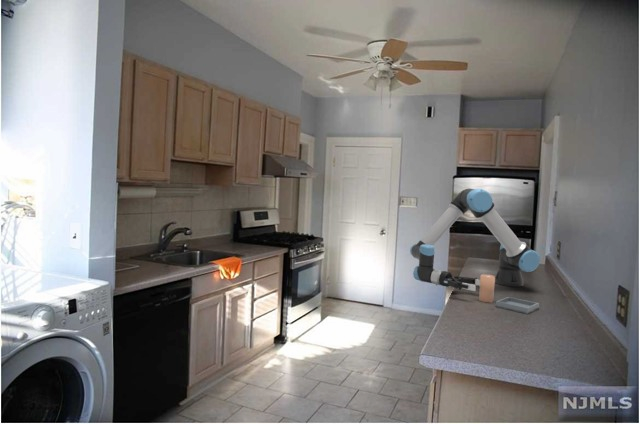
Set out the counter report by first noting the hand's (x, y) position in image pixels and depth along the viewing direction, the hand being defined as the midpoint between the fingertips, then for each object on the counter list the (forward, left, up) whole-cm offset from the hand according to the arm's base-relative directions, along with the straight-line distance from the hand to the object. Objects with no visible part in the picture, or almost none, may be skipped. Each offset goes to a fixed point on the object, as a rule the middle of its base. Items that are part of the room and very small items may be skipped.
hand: (482, 286), depth 211 cm
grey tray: (-1, +17, -7) cm, 18 cm away
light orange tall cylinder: (-1, +2, -7) cm, 7 cm away
